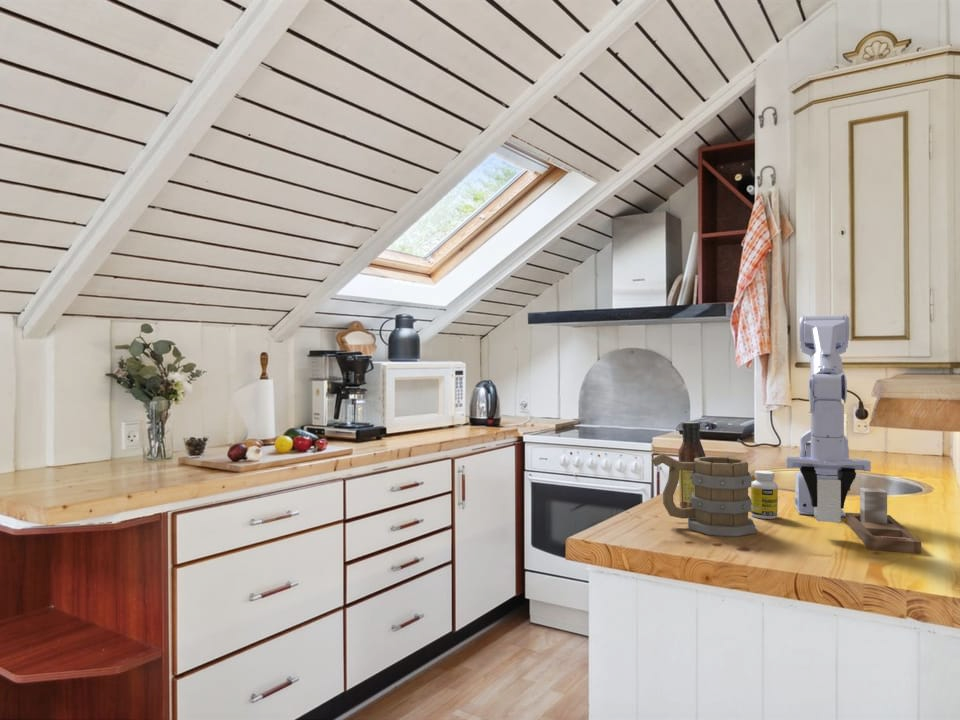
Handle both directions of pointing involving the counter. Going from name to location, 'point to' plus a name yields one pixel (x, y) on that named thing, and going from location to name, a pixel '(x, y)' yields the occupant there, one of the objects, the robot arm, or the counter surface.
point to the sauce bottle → (688, 460)
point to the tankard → (712, 495)
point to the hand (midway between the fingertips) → (827, 506)
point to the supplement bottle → (764, 495)
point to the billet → (828, 499)
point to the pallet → (880, 525)
